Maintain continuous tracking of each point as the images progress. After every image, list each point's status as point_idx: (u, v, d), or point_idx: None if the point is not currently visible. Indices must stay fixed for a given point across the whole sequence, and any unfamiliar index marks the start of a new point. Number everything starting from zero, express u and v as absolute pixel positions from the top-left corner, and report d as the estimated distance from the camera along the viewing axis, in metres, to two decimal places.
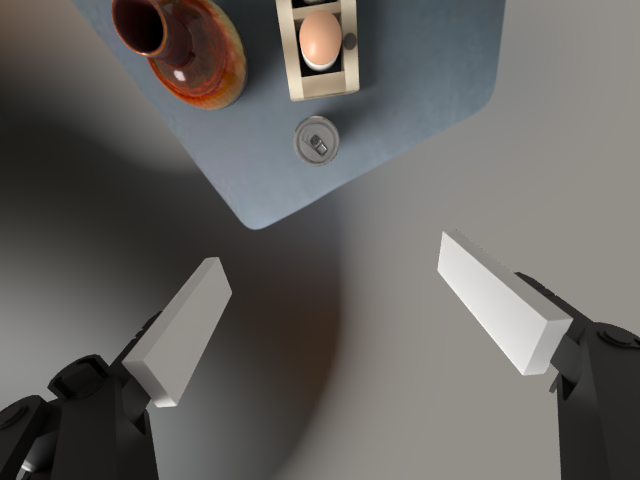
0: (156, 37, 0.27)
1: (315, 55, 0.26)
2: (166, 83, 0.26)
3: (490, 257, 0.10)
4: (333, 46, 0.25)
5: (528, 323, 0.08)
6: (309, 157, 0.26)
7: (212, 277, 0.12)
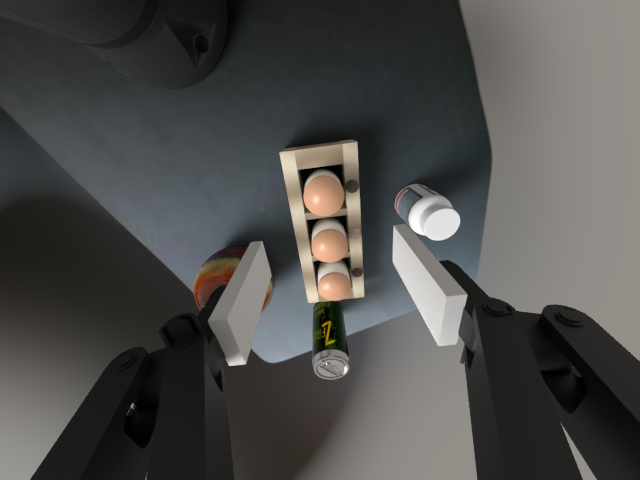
0: None
1: (330, 296, 0.32)
2: None
3: (423, 247, 0.12)
4: (344, 292, 0.32)
5: (438, 300, 0.09)
6: (325, 375, 0.33)
7: (259, 258, 0.14)
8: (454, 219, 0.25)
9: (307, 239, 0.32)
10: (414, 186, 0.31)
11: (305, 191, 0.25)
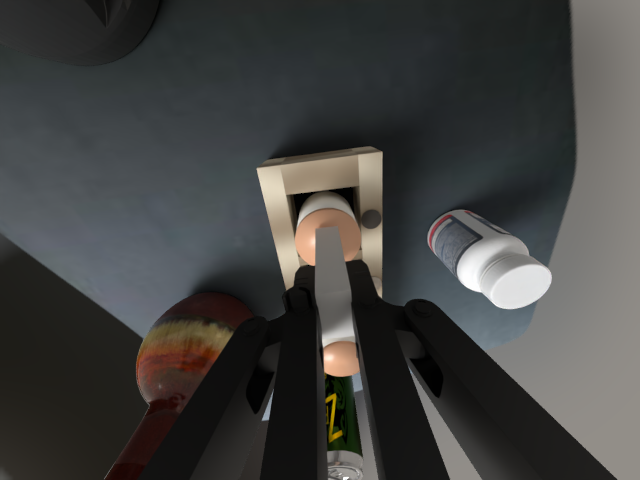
0: None
1: (335, 371, 0.23)
2: None
3: (340, 247, 0.13)
4: (356, 366, 0.22)
5: None
6: None
7: None
8: (542, 279, 0.15)
9: None
10: (459, 215, 0.21)
11: (298, 233, 0.16)
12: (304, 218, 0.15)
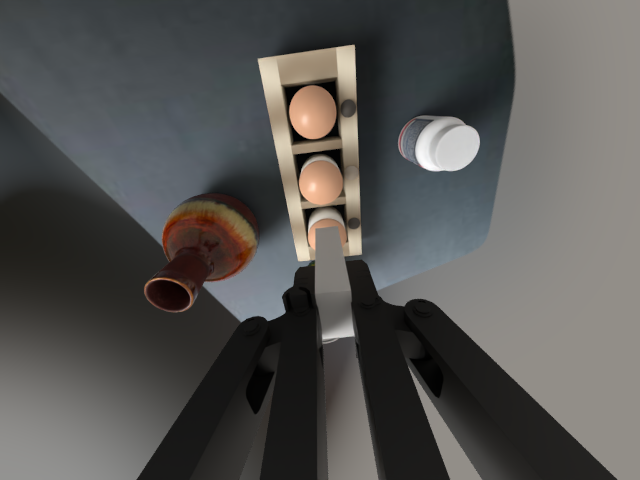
0: None
1: None
2: None
3: (340, 247, 0.13)
4: None
5: None
6: None
7: None
8: (472, 140, 0.21)
9: (295, 180, 0.27)
10: (421, 116, 0.26)
11: (291, 105, 0.22)
12: (296, 93, 0.22)
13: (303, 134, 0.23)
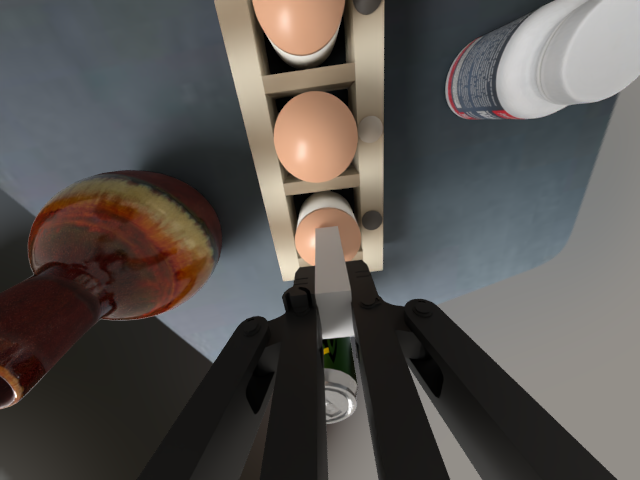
0: None
1: None
2: None
3: (340, 247, 0.13)
4: (347, 250, 0.16)
5: None
6: None
7: None
8: None
9: (272, 144, 0.15)
10: None
11: None
12: None
13: (281, 43, 0.12)
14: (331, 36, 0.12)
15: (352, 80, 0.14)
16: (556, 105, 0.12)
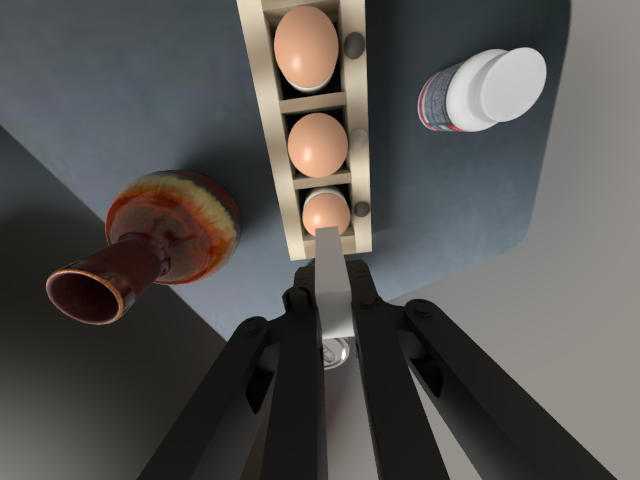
0: None
1: None
2: None
3: (340, 247, 0.13)
4: (340, 224, 0.22)
5: None
6: None
7: None
8: (535, 72, 0.14)
9: (285, 150, 0.21)
10: None
11: (277, 36, 0.16)
12: (282, 19, 0.16)
13: (293, 79, 0.17)
14: (329, 75, 0.17)
15: (344, 103, 0.19)
16: (488, 122, 0.17)
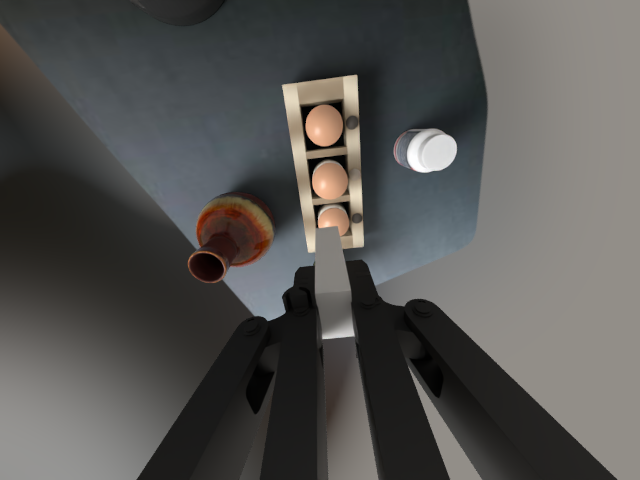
0: None
1: None
2: None
3: (340, 247, 0.13)
4: (343, 228, 0.34)
5: None
6: None
7: None
8: (450, 146, 0.26)
9: (308, 180, 0.32)
10: (412, 130, 0.32)
11: (307, 120, 0.28)
12: (311, 110, 0.28)
13: (316, 142, 0.29)
14: (337, 139, 0.29)
15: (346, 153, 0.31)
16: None
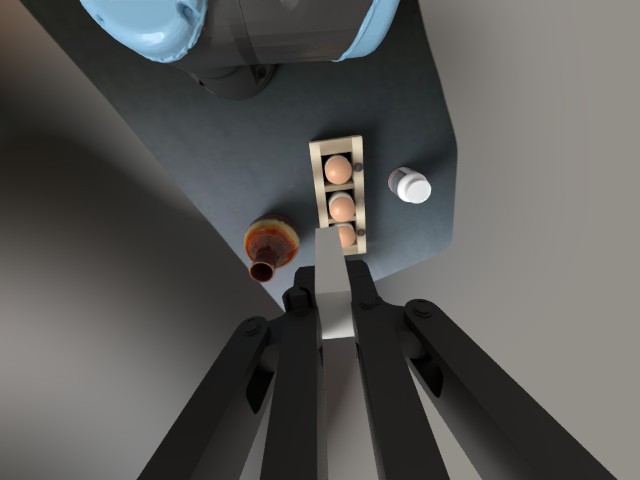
0: None
1: None
2: None
3: (340, 247, 0.13)
4: (350, 240, 0.46)
5: None
6: None
7: None
8: (426, 187, 0.38)
9: (325, 206, 0.44)
10: (401, 168, 0.44)
11: (326, 167, 0.40)
12: (329, 161, 0.39)
13: (332, 182, 0.41)
14: None
15: (353, 188, 0.43)
16: None
